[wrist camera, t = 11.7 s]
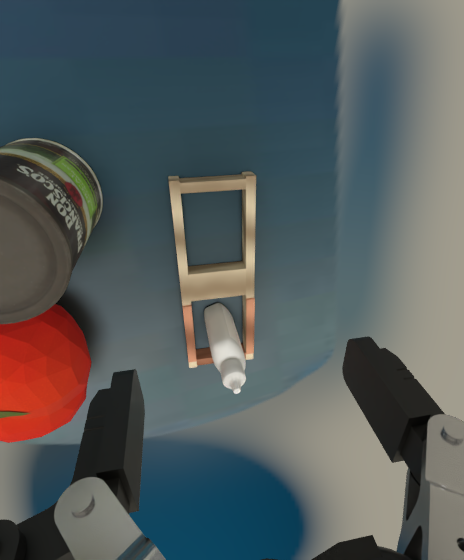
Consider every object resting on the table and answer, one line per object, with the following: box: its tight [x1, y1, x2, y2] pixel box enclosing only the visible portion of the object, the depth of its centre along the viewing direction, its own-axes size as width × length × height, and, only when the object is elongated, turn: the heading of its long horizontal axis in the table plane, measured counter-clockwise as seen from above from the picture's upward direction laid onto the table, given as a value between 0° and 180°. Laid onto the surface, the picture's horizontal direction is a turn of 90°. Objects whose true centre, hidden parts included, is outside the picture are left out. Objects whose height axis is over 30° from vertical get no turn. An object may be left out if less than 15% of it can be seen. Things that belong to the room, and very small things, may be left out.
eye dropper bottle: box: [204, 303, 246, 394], centre depth 39 cm, size 4×6×12 cm
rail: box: [168, 171, 256, 368], centre depth 39 cm, size 24×8×2 cm, turn 1°
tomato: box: [0, 304, 91, 443], centre depth 34 cm, size 16×14×14 cm
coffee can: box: [0, 138, 103, 324], centre depth 27 cm, size 10×10×14 cm
